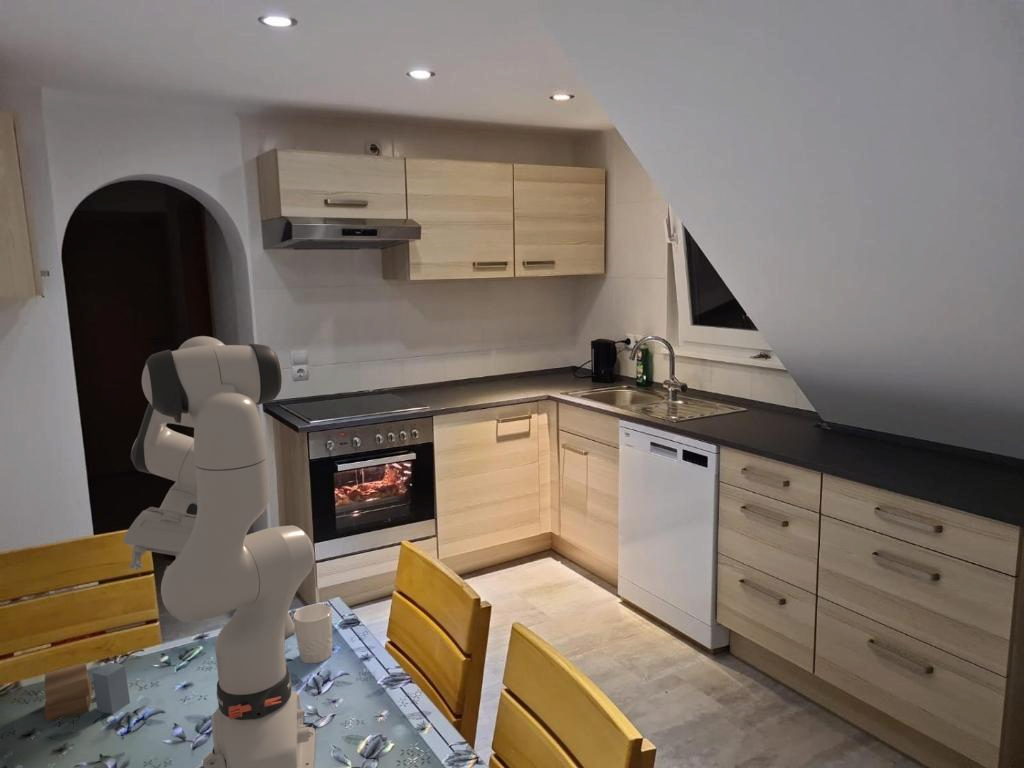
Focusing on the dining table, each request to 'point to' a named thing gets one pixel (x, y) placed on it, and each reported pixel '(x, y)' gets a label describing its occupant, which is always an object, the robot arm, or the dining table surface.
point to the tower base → (69, 707)
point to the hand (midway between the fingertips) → (150, 572)
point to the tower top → (66, 684)
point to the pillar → (111, 688)
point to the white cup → (314, 632)
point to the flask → (289, 627)
